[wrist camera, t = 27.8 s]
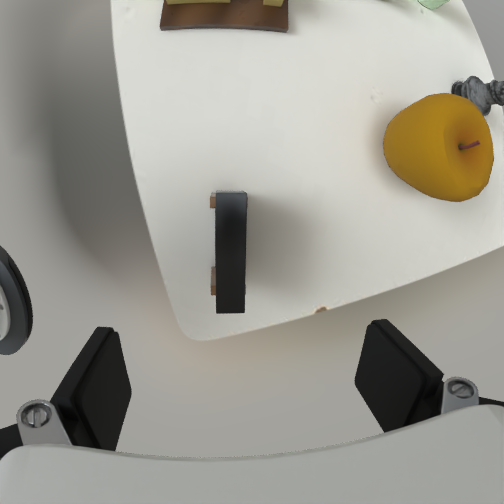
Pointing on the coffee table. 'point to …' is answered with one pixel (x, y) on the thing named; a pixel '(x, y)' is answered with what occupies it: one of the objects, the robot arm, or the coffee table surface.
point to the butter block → (196, 1)
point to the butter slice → (273, 2)
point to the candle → (432, 3)
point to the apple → (441, 147)
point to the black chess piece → (480, 93)
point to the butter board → (225, 15)
